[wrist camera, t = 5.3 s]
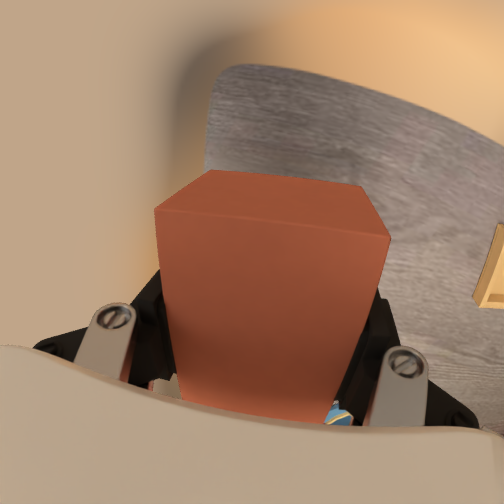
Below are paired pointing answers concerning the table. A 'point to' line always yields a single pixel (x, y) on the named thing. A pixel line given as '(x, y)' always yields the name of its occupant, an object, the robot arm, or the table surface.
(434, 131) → the table surface
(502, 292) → the channel
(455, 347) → the table surface
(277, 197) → the terracotta block
